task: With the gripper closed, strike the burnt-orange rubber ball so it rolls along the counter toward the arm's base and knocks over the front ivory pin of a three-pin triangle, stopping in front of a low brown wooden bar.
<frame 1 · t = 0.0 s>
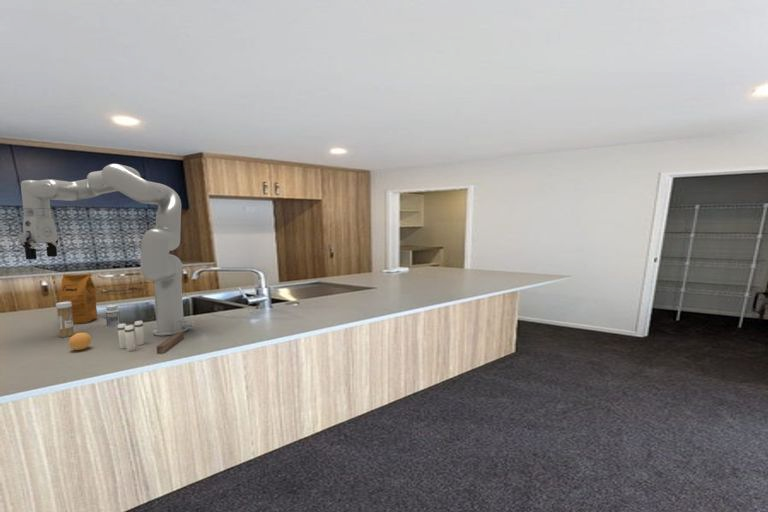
hand: (42, 257, 139), 31 cm above the counter, tool pointing down, fingers open, 9 cm apart
left back pin: (130, 349, 126), on the counter
brown wooden bar: (171, 345, 130), on the counter
ball: (80, 341, 126), on the counter
front pin: (123, 347, 128), on the counter
right back pin: (140, 344, 132), on the counter
coffee package: (79, 322, 163), on the counter
sprinkles bottle: (67, 336, 142), on the counter
pill bottle: (113, 325, 157), on the counter
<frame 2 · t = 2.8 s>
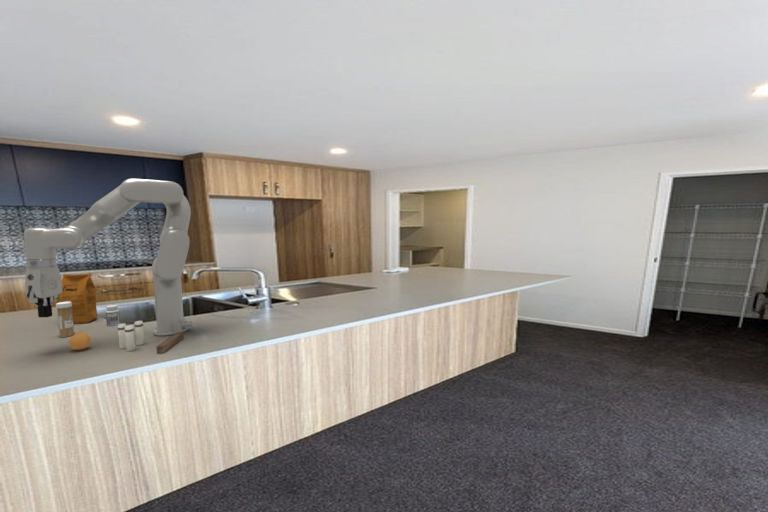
hand: (45, 316, 124), 12 cm above the counter, tool pointing down, fingers closed
nothing on the counter moved.
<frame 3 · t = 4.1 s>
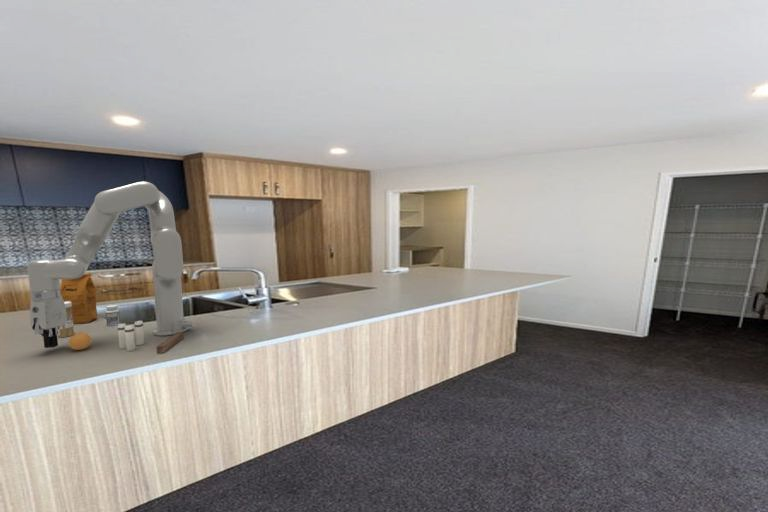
hand: (51, 346, 125), 2 cm above the counter, tool pointing down, fingers closed
nothing on the counter moved.
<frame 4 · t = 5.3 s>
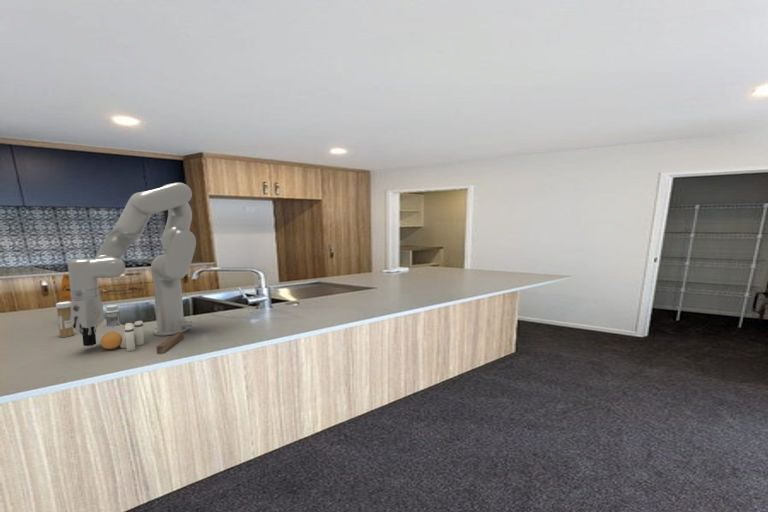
hand: (89, 345, 127), 1 cm above the counter, tool pointing down, fingers closed
ball: (111, 340, 127), on the counter
front pin: (124, 346, 128), on the counter, tilted 17°
everything else where it was.
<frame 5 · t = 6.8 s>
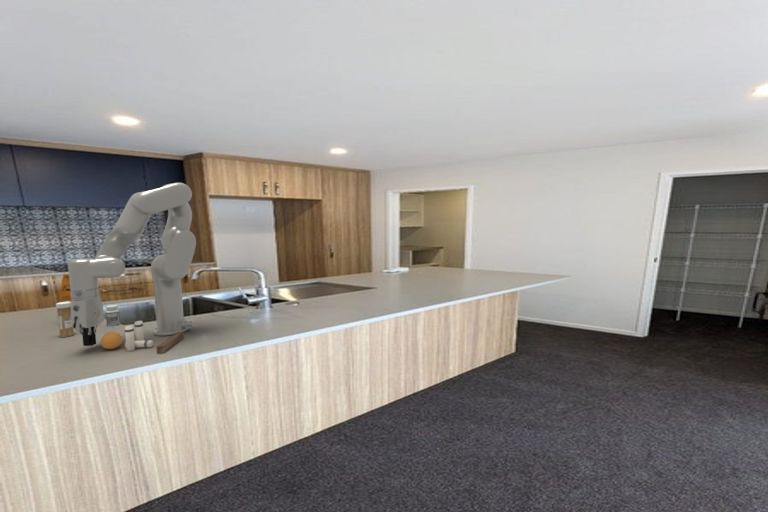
hand: (89, 344, 127), 2 cm above the counter, tool pointing down, fingers closed
front pin: (127, 344, 128), point 1 cm above the counter, tilted 89°
everything else where it was.
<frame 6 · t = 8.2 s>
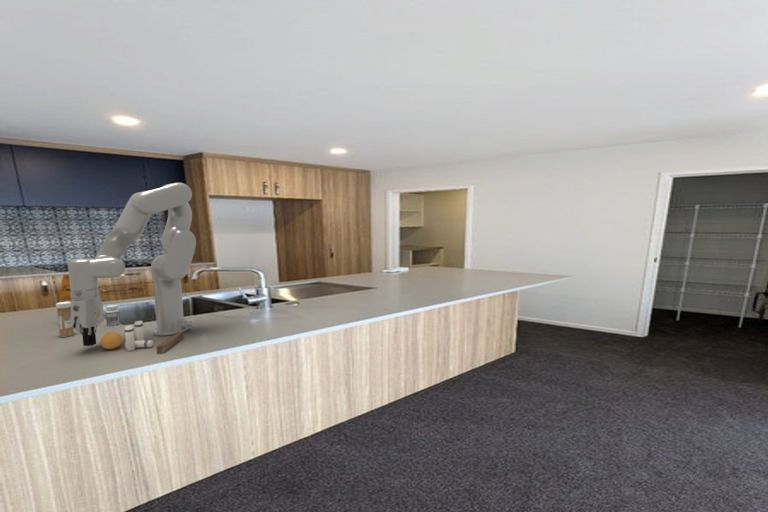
hand: (89, 344, 127), 2 cm above the counter, tool pointing down, fingers closed
nothing on the counter moved.
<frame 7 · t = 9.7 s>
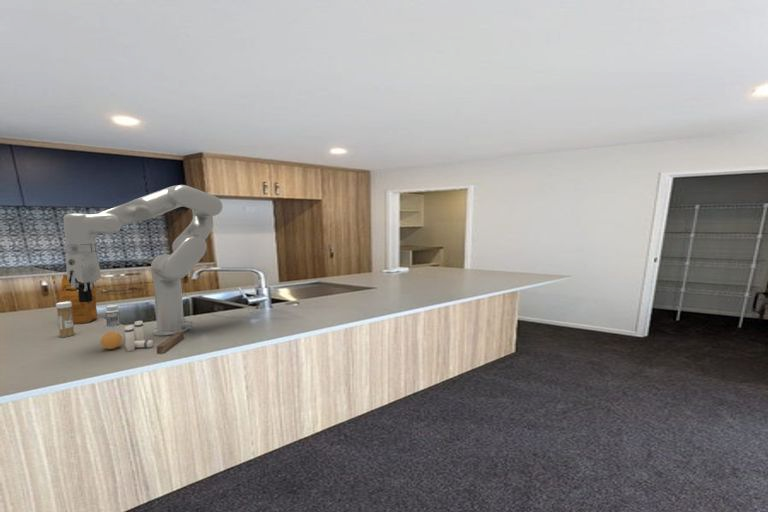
hand: (85, 301, 125), 17 cm above the counter, tool pointing down, fingers closed
nothing on the counter moved.
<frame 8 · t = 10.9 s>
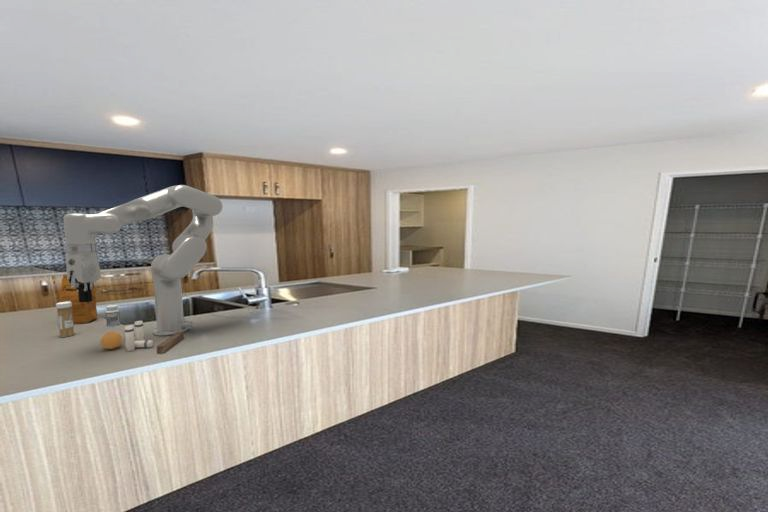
hand: (85, 301, 125), 17 cm above the counter, tool pointing down, fingers closed
nothing on the counter moved.
at the end: front pin tilted 89°; front pin never touched the robot; ball moved 10.6 cm from its start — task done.
